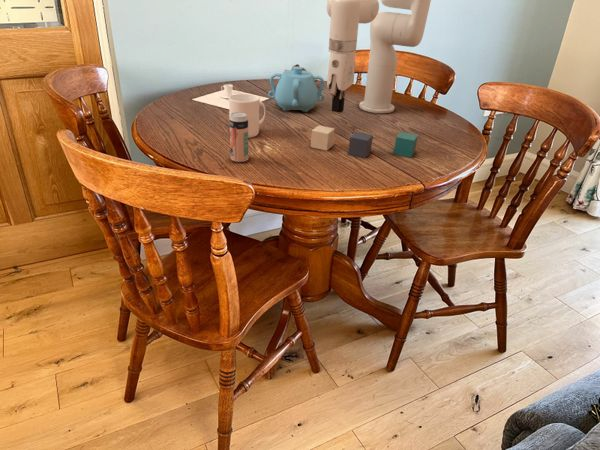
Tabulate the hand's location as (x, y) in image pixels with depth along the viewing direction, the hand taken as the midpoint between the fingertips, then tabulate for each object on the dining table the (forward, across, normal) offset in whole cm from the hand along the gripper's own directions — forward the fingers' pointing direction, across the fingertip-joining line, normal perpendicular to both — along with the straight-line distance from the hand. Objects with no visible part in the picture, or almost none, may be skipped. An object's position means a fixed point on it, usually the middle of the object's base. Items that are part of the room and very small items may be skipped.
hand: (337, 111), depth 136 cm
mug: (+7, -12, +23) cm, 27 cm away
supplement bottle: (+7, -31, +15) cm, 35 cm away
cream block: (+7, -11, 0) cm, 13 cm away
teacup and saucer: (+8, +15, +46) cm, 49 cm away
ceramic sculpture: (+9, +46, +34) cm, 58 cm away
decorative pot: (+8, +19, +22) cm, 30 cm away
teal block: (+8, -3, -22) cm, 23 cm away
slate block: (+7, -10, -11) cm, 16 cm away
